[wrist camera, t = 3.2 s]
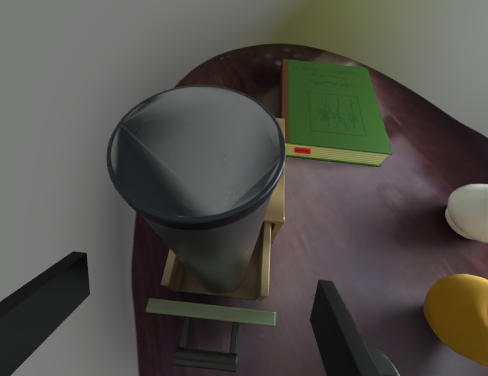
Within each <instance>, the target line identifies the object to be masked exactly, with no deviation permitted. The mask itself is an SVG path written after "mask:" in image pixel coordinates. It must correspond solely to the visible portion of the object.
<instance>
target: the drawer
mask: <svg viewBox="0 0 488 376" xmlns="http://www.w3.org/2000/svg"><path fill="white" fill-rule="evenodd" d="M270 242H271V223H266V222H262V226H261V229H260V232H259V235H258V238H257V241H256V244H255V247H254V250H253V253H252V256H251V259H250V262H249V265H248V268H247V271H246V274H245V277H244V279H243V281H242V282H241V284H240V285H239V286H238V287H237V288H236V289H234V290H233V291H231V292H229V293H225V294H215V293H211V292H209V291H207V290H206V289H204V288H203V287H202V286H201V285H200V283H199V282H198V281H197V280H196V279H195V277H194V276H193V275H192V274H191V273H190V272H189V270H188V269H187V268H186V267H185V266H184V264H183V263H182V262H181V261H180V260H179V259H178V257H177V256H176V255H175V254H174V253H173V251H172V250H171V249H170V250H169V254H168V258H167V262H166V266H165V269H164V273H163V277H162V281H161V285H162V286H164V287H166V288H168V289H170V290H172V291H174V292H183V293H192V294H201V295H210V296H219V297H228V298H237V299H246V300H255V301H262V300H264V299H265V298H267V297H268V294H269V268H270ZM146 312H150V313H159V314H168V315H177V316H185V318H184V323H183V328H182V333H181V338H180V343H179V347H178V348H177V349H176V351H175V355H174V360H173V365H177V366H186V367H194V368H203V369H212V370H221V371H230V372H236V368H237V354H236V345H237V334H238V322H240V323H249V324H258V325H267V326H275V312H270V311H261V310H252V309H243V308H234V307H225V306H216V305H207V304H198V303H189V302H180V301H171V300H162V299H153V298H149V301H148V304H147V308H146ZM191 317H195V318H204V319H213V320H222V321H231V322H233V324H232V334H231V343H230V353H224V352H215V351H206V350H197V349H188V348H185V347H186V343H187V337H188V332H189V326H190V321H191Z"/></svg>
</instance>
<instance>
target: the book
mask: <svg viewBox="0 0 488 376" xmlns="http://www.w3.org/2000/svg"><path fill="white" fill-rule="evenodd" d="M279 118H280V119H285V145H286V157H294V158H303V159H312V160H322V161H331V162H340V163H350V164H359V165H368V166H378V167H380V166H381V165H380V163H381V162H382V161H383V160H384V159H385V158H386V157H387V156H388V155H389V154H390V155H392V154H393V153H392V150H391V147H390V143H389V140H388V137H387V133H386V130H385V126H384V123H383V120H382V116H381V113H380V110H379V106H378V103H377V99H376V96H375V93H374V89H373V86H372V83H371V79H370V76H369V73H368V69H367V68H363V67H354V66H344V65H335V64H325V63H316V62H307V61H297V60H288V59H283V61H282V66H281V71H280V84H279Z"/></svg>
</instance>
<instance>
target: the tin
mask: <svg viewBox="0 0 488 376" xmlns="http://www.w3.org/2000/svg"><path fill="white" fill-rule="evenodd" d="M285 157H286V145H285V139H284V135H283V132H282V130H281V127H280V125H279V123H278V122H277V120H276V119H275V117H274V116H273V115H272V114H271V112H270V111H269V110H268V109H267V108H266V107H264V106H263V105H262V104H261V103H259V102H258V101H257V100H255V99H253V98H251V97H250V96H248V95H246V94H243V93H241V92H239V91H236V90H233V89H229V88H225V87H219V86H212V85H191V86H183V87H178V88H173V89H169V90H166V91H163V92H160V93H158V94H155V95H153V96H151V97H149V98H147V99H145V100H144V101H142V102H140V103H139V104H138V105H136V106H135V107H134V108H132V109H131V110H130V111H129V112H128V113H127V114H126V115H125V116H124V117H123V118H122V119H121V121H120V122H119V123H118V124H117V126H116V128H115V129H114V131H113V133H112V135H111V138H110V140H109V144H108V148H107V167H108V172H109V175H110V178H111V181H112V182H113V185H114V186H115V188H116V190H117V191H118V192H119V194H120V195H121V196H122V197H123V198H124V199H125V201H126V202H127V203H128V204H129V205H130V206H131V207H132V208H133V209H134V210H135V211H136V212H137V213H139V214H140V215H142V216H143V217H144V218H145V219H146V221H147V222H148V223H149V224H150V225H151V227H152V228H153V229H154V230H155V231H156V233H157V234H158V235H159V236H160V237H161V238H162V240H163V241H164V242H165V243H166V244H167V246H168V247H169V248H170V249H171V250H172V251H173V253H174V254H175V255H176V256H177V257H178V259H179V260H180V261H181V262H182V263H183V264H184V266H185V267H186V268H187V269H188V270H189V272H190V273H191V274H192V275H193V276H194V277H195V279H196V280H197V281H198V282H199V283H200V285H201V286H202V287H203V288H204V289H206V290H207V291H209V292H211V293H215V294H225V293H229V292H231V291H233V290H234V289H236V288H237V287H238V286H239V285H240V284H241V282H242V281H243V279H244V277H245V274H246V271H247V268H248V265H249V262H250V259H251V256H252V253H253V250H254V247H255V244H256V241H257V238H258V235H259V232H260V229H261V226H262V222H263V219H264V216H265V213H266V210H267V207H268V204H269V201H270V198H271V195H272V192H273V191H274V189H275V187H276V186H277V183H278V181H279V179H280V176H281V173H282V170H283V167H284V163H285Z"/></svg>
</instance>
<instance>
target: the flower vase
mask: <svg viewBox="0 0 488 376" xmlns="http://www.w3.org/2000/svg"><path fill="white" fill-rule="evenodd" d="M445 217H446V220H447V222H448V224H449V225H450V226H451V228H452V229H453V230H454V231H455V232H457V233H458V234H460V235H461V236H463V237H465V238H468V239H472V240H478V241H480V242H484V243H488V185H487V184H470V185H466V186H463V187H460V188H457V189H456V190H455V191H454V192H452V193H451V195H450V197H449V199H448V206H447V209H446V211H445Z"/></svg>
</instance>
